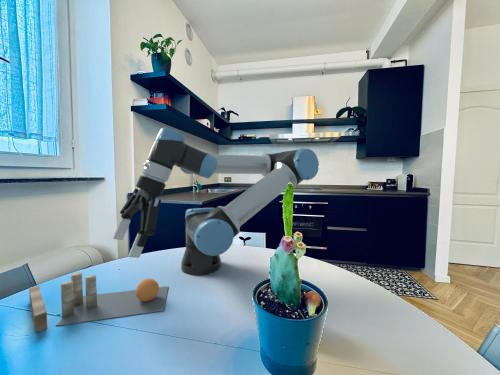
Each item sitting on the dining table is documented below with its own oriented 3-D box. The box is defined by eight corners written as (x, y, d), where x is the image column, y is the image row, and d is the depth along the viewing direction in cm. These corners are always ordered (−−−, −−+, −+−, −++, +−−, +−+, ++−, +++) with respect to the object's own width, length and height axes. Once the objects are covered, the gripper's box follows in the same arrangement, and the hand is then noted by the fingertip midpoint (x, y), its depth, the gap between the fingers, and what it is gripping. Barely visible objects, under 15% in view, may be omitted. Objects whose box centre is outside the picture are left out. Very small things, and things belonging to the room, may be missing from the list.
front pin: (98, 304, 62) (97, 274, 61) (95, 309, 60) (93, 278, 59) (88, 305, 61) (87, 275, 61) (84, 310, 59) (83, 279, 58)
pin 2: (84, 301, 63) (83, 272, 63) (80, 306, 61) (79, 275, 60) (74, 302, 63) (73, 273, 62) (70, 307, 60) (69, 276, 60)
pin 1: (76, 311, 58) (74, 280, 58) (71, 317, 56) (69, 284, 56) (65, 313, 58) (63, 281, 57) (60, 319, 55) (58, 286, 55)
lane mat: (168, 286, 72) (168, 286, 72) (163, 311, 59) (163, 310, 59) (81, 296, 65) (81, 296, 65) (55, 326, 53) (55, 325, 53)
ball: (160, 293, 68) (159, 274, 67) (157, 304, 62) (157, 283, 62) (138, 295, 66) (138, 276, 66) (133, 307, 60) (133, 286, 60)
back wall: (29, 301, 63) (29, 287, 63) (39, 298, 64) (38, 285, 64) (35, 332, 51) (34, 315, 50) (47, 328, 52) (46, 311, 52)
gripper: (126, 168, 72) (99, 231, 70) (161, 182, 55) (126, 265, 53) (148, 176, 77) (124, 234, 75) (186, 191, 60) (155, 266, 58)
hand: (125, 247), depth 64 cm, fingers open, 13 cm apart
